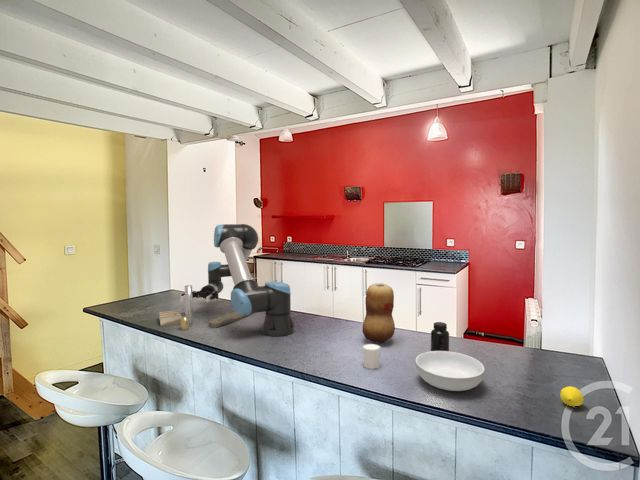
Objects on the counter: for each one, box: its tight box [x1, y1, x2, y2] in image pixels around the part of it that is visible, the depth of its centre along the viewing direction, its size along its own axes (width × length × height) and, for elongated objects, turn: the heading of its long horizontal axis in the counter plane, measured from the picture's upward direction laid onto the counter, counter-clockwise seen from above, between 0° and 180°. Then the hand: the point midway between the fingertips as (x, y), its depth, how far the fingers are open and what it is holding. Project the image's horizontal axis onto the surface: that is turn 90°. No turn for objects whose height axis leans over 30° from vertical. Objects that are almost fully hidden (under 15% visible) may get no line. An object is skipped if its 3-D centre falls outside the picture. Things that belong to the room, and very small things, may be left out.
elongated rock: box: [208, 309, 254, 329], centre depth 194 cm, size 35×5×10 cm
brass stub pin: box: [180, 315, 190, 332], centre depth 175 cm, size 4×4×6 cm
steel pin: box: [184, 284, 194, 327], centre depth 181 cm, size 4×4×20 cm
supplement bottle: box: [430, 321, 450, 352], centre depth 141 cm, size 7×7×12 cm
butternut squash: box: [362, 282, 396, 344], centre depth 155 cm, size 14×13×25 cm
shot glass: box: [361, 343, 382, 370], centre depth 131 cm, size 7×7×7 cm
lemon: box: [559, 385, 585, 407], centre depth 102 cm, size 7×5×5 cm
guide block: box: [158, 309, 183, 327], centre depth 190 cm, size 14×10×4 cm
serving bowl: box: [414, 350, 486, 392], centre depth 117 cm, size 21×21×7 cm
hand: (193, 299), depth 188 cm, fingers open, 13 cm apart
